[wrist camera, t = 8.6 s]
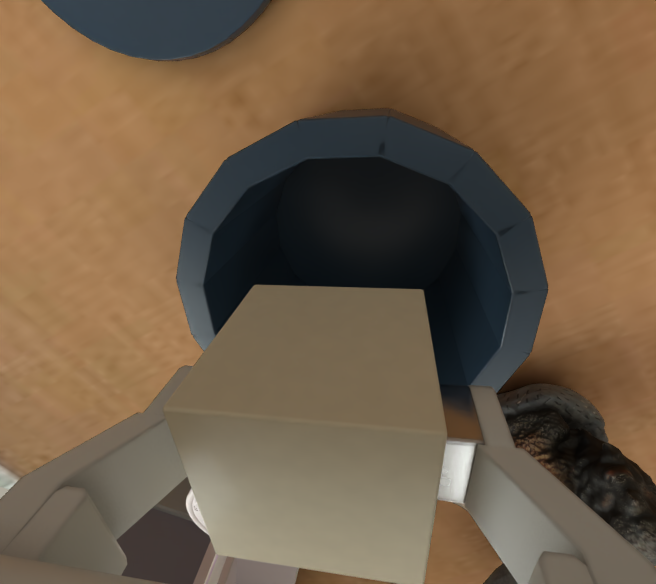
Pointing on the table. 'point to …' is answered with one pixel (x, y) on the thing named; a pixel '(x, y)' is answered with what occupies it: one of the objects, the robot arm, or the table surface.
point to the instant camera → (186, 549)
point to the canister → (372, 234)
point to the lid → (160, 24)
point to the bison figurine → (583, 459)
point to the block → (317, 431)
